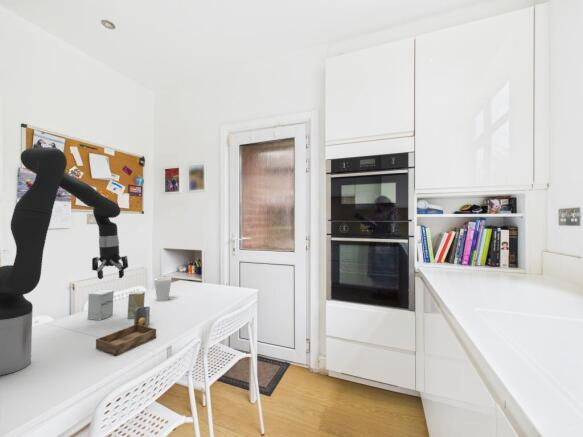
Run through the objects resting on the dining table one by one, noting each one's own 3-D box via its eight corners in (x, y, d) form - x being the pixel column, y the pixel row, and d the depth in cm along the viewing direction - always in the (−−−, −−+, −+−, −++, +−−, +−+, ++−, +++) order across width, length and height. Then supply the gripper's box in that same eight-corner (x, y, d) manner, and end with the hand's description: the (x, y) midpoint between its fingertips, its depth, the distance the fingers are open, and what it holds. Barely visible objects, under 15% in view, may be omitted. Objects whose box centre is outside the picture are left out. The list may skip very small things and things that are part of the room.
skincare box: (127, 319, 123) (127, 294, 123) (130, 315, 127) (130, 291, 127) (141, 317, 124) (142, 293, 125) (144, 314, 129) (145, 291, 129)
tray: (115, 356, 89) (115, 346, 89) (95, 348, 94) (96, 339, 94) (155, 337, 104) (156, 329, 104) (137, 331, 109) (137, 323, 109)
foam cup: (154, 298, 156) (155, 277, 156) (171, 296, 160) (171, 276, 160) (153, 302, 147) (154, 280, 147) (170, 301, 151) (171, 279, 151)
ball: (140, 326, 113) (140, 320, 113) (136, 325, 114) (136, 318, 114) (147, 323, 116) (147, 317, 116) (142, 322, 117) (142, 315, 117)
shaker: (137, 324, 117) (137, 307, 117) (149, 323, 118) (149, 306, 118) (133, 328, 112) (134, 310, 112) (146, 327, 113) (146, 310, 113)
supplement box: (99, 320, 120) (100, 294, 120) (87, 319, 122) (87, 293, 122) (113, 315, 127) (114, 290, 128) (101, 314, 129) (102, 289, 129)
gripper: (87, 246, 113) (89, 281, 114) (122, 245, 116) (124, 279, 117) (96, 243, 120) (98, 276, 122) (129, 242, 123) (131, 274, 124)
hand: (111, 278), depth 119 cm, fingers open, 8 cm apart
